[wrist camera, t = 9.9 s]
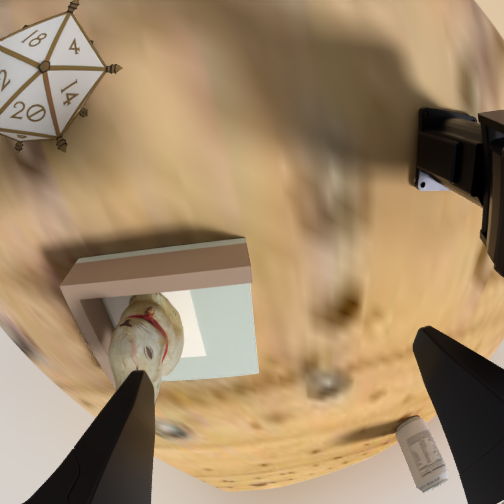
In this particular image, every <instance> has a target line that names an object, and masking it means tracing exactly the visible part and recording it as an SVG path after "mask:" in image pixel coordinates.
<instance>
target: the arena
mask: <svg viewBox="0 0 504 504" xmlns="http://www.w3.org/2000/svg"><path fill="white" fill-rule="evenodd" d="M250 283H252V273H251V264H250V259H249V254H248V248H247V243H246V238H239V239H230V240H221V241H213V242H204V243H196V244H188V245H179V246H171V247H163V248H155V249H147V250H139V251H131V252H123V253H116V254H108V255H101V256H93V257H86V258H79V259H78V260H77V262H76V263H75V264H74V266H73V267H72V269H71V270H70V271H69V273H68V274H67V276H66V277H65V279H64V280H63V281H62V283H61V284H60V286H59V287H60V289H61V291H62V293H63V296H64V298H65V300H66V302H67V304H68V306H69V308H70V311H71V313H72V315H73V317H74V319H75V321H76V323H77V325H78V326H79V328H80V330H81V332H82V334H83V336H84V338H85V340H86V341H87V343H88V345H89V347H90V349H91V350H92V352H93V354H94V356H95V357H96V359H97V361H98V362H99V364H100V366H101V367H102V369H103V371H104V372H105V374H106V375H107V377H108V378H109V380H110V382H111V383H112V385H113V386H114V388H115V389H116V385H115V380H114V376H113V373H112V370H111V366H110V363H109V360H108V351H109V346H110V341H111V337H112V334H113V332H114V330H115V328H116V326H117V324H118V323H119V322H120V318H121V315H122V313H123V312H124V310H125V309H126V308H127V307H128V306H129V301H130V298H131V297H132V296H133V295H141V294H152V293H161V294H162V295H163V296H165V297H166V298H167V299H168V300H169V301H170V303H171V304H172V306H173V307H174V308H175V309H176V310H177V311H178V312H179V314H180V318H181V321H182V326H183V330H184V331H183V332H184V346H183V351H182V355H181V357H180V360H179V362H178V364H177V365H176V367H175V368H174V369H173V371H172V372H171V373H170V374H169V375H167V376H163V377H162V378H161V381H177V380H195V379H209V378H221V377H232V376H241V375H250V374H258V373H259V369H258V358H257V348H256V338H255V328H254V317H253V307H252V297H251V286H250Z"/></svg>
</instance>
